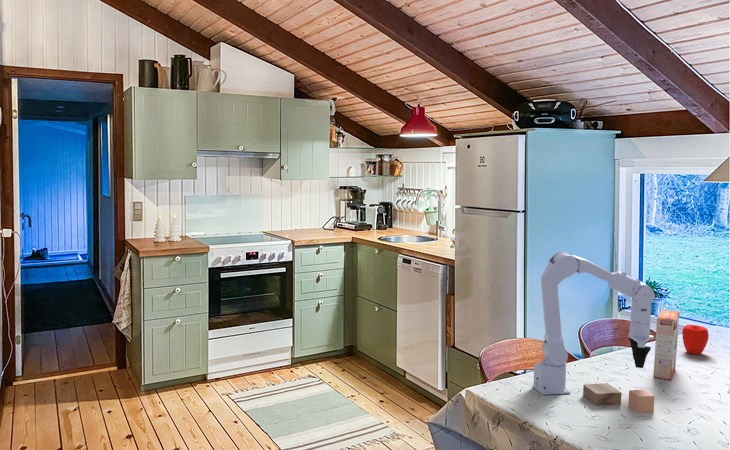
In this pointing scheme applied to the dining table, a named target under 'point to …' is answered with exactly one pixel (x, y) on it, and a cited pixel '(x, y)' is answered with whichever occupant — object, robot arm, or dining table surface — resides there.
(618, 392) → the walnut base
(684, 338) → the apple
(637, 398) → the terracotta block
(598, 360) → the dining table surface
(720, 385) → the dining table surface
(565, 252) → the robot arm
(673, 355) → the cracker box
